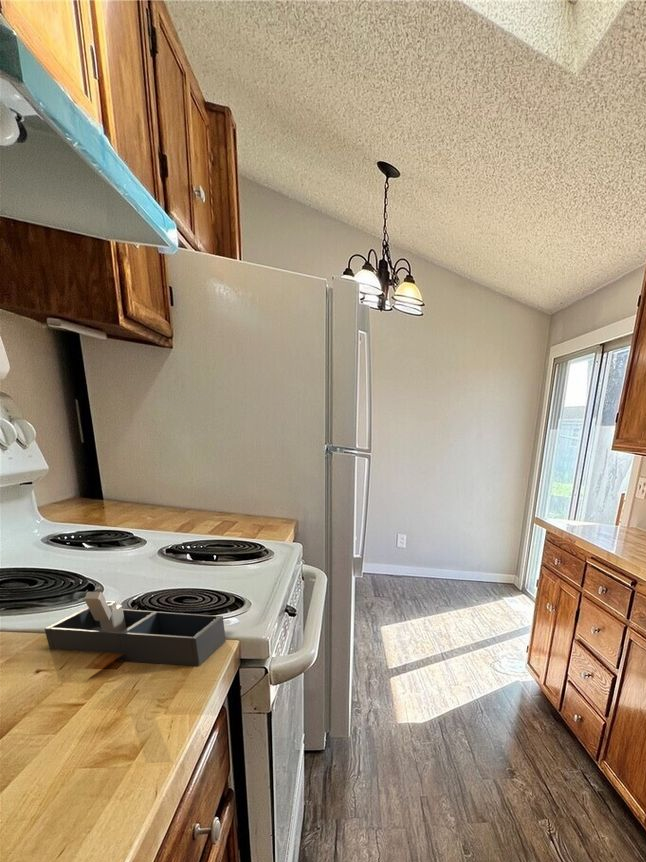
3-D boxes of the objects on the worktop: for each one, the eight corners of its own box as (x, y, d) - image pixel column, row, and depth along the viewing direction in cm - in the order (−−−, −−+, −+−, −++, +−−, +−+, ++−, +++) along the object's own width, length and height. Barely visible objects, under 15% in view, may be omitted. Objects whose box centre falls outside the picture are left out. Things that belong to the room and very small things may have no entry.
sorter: (51, 657, 74) (43, 628, 73) (94, 632, 83) (88, 606, 81) (199, 666, 77) (195, 638, 75) (225, 641, 85) (223, 616, 84)
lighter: (114, 632, 82) (103, 579, 79) (127, 632, 82) (117, 580, 79) (95, 650, 76) (82, 594, 72) (110, 650, 76) (98, 594, 73)
